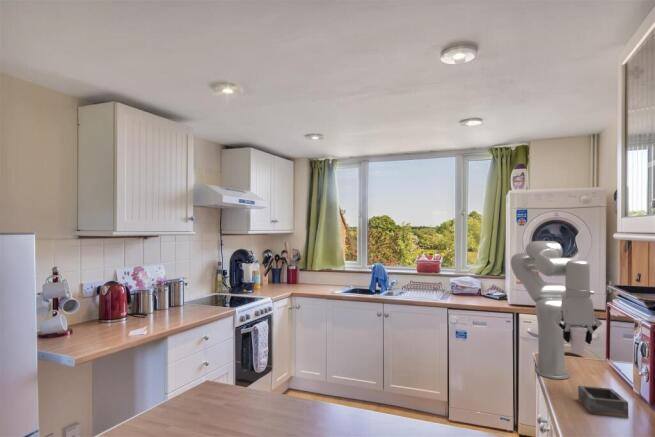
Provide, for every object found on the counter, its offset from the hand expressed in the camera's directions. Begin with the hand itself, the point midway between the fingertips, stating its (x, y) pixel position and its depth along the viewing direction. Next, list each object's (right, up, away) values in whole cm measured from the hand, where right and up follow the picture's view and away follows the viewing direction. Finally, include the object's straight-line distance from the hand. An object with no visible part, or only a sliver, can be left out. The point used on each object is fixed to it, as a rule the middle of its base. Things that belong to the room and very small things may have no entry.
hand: (577, 341), depth 140 cm
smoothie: (0, -4, 0) cm, 4 cm away
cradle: (+1, -19, -11) cm, 22 cm away
